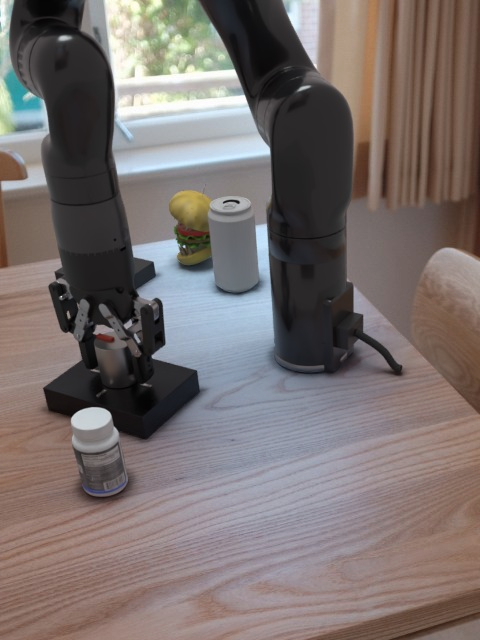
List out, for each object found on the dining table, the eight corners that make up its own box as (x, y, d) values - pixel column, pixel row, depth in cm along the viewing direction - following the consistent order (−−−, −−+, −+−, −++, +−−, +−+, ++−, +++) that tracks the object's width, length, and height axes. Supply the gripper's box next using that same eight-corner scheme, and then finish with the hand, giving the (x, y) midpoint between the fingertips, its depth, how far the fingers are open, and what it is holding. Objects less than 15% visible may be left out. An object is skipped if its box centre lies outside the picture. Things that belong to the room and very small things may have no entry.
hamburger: (186, 250, 140) (176, 172, 133) (230, 253, 139) (223, 175, 131) (169, 271, 134) (157, 191, 127) (215, 275, 133) (207, 194, 126)
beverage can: (262, 275, 133) (257, 194, 125) (255, 295, 128) (249, 212, 121) (220, 274, 134) (212, 193, 126) (211, 294, 129) (202, 211, 121)
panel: (200, 391, 109) (197, 368, 107) (146, 439, 101) (141, 416, 99) (106, 365, 114) (102, 343, 112) (48, 409, 106) (42, 386, 104)
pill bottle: (86, 471, 97) (70, 405, 92) (130, 469, 97) (117, 403, 92) (80, 499, 93) (63, 432, 88) (126, 497, 94) (112, 429, 88)
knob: (147, 373, 106) (140, 333, 103) (124, 392, 103) (116, 351, 100) (117, 365, 108) (109, 325, 105) (93, 383, 105) (85, 342, 102)
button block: (156, 275, 134) (152, 249, 131) (118, 300, 127) (113, 274, 125) (96, 261, 137) (91, 236, 135) (57, 285, 131) (51, 259, 129)
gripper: (15, 236, 95) (49, 374, 105) (127, 262, 90) (151, 404, 100) (62, 211, 100) (90, 345, 110) (170, 234, 95) (189, 372, 105)
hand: (119, 373), depth 105 cm, fingers open, 6 cm apart
